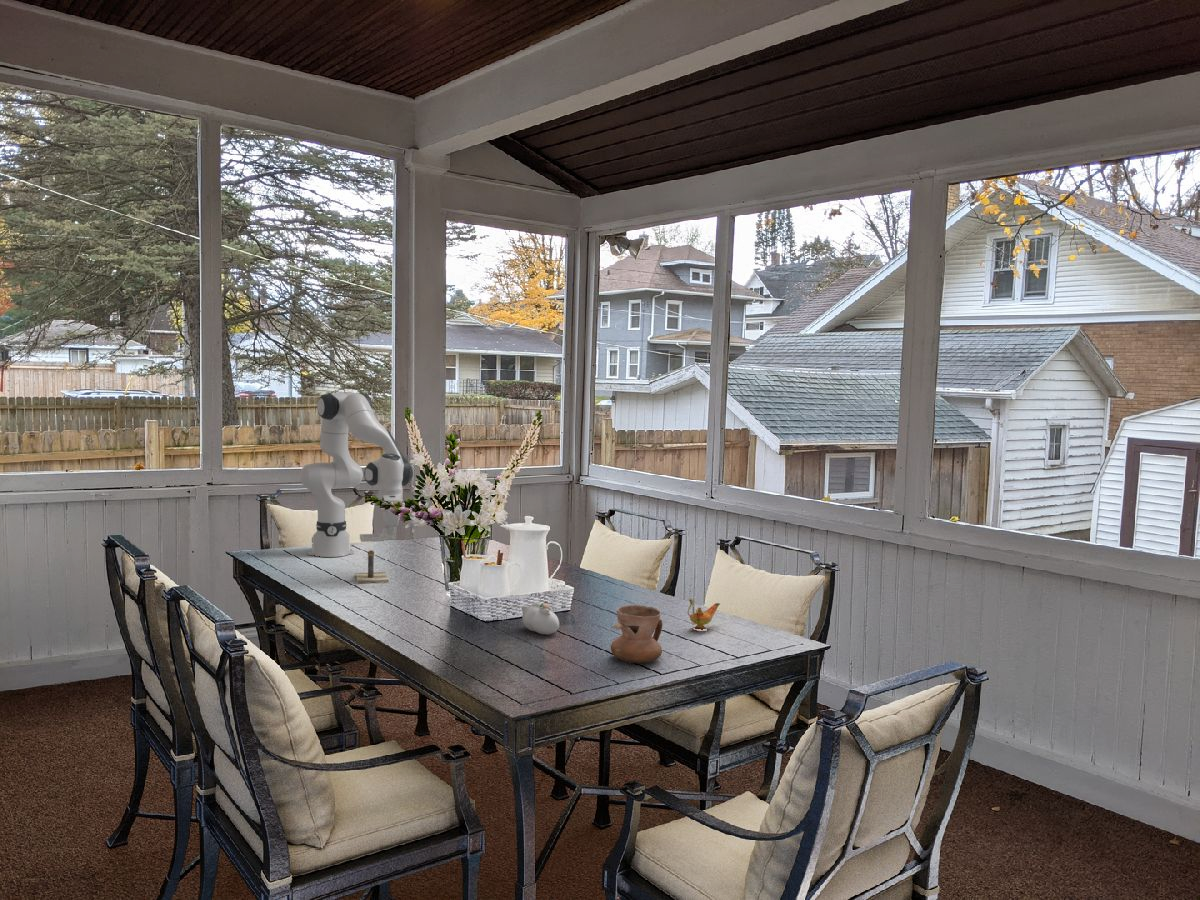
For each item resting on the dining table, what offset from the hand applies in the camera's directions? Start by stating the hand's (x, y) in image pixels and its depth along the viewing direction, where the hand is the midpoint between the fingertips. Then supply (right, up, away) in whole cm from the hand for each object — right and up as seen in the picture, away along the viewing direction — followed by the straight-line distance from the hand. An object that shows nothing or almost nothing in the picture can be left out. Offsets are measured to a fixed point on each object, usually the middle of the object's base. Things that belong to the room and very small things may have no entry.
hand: (390, 534), depth 336 cm
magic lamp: (+112, -26, -50) cm, 125 cm away
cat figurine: (+60, -25, -60) cm, 88 cm away
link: (-4, -2, -1) cm, 5 cm away
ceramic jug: (+90, -28, -83) cm, 125 cm away
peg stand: (-7, -17, +1) cm, 18 cm away
